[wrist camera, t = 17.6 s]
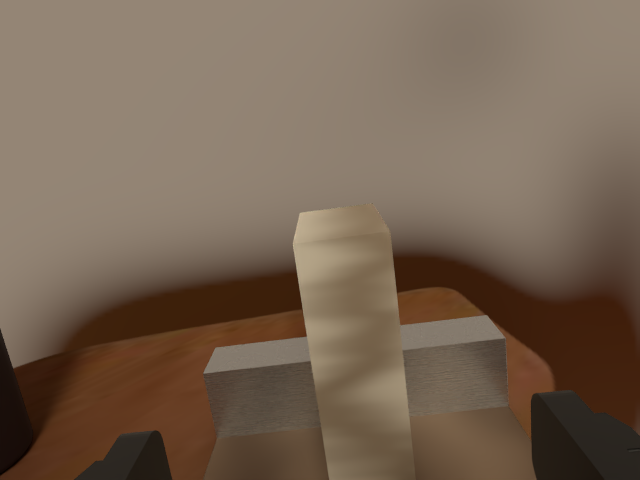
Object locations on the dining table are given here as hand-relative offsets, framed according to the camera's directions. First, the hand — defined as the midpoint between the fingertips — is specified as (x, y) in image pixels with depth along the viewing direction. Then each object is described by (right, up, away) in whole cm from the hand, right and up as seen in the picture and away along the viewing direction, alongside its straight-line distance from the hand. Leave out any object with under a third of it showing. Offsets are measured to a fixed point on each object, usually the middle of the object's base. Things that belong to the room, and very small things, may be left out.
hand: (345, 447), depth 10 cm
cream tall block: (+2, -6, +13) cm, 14 cm away
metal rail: (+2, -5, +17) cm, 18 cm away
